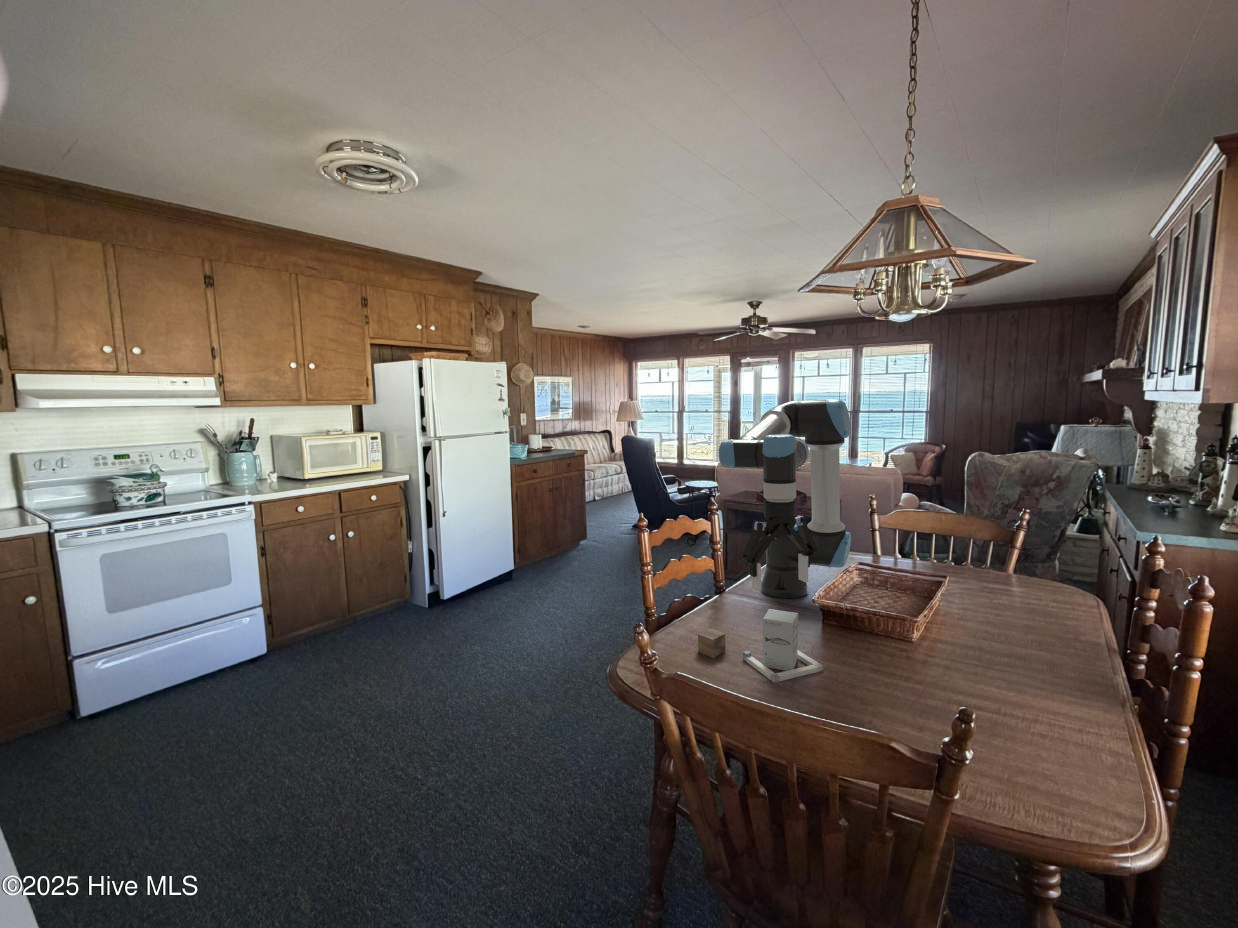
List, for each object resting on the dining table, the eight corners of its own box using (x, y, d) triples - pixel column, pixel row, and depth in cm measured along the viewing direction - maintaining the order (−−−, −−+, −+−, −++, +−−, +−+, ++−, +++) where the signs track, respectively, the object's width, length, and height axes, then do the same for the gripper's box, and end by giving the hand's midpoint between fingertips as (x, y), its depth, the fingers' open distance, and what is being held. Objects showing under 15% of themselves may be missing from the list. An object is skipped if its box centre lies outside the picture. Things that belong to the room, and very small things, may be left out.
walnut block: (710, 646, 148) (710, 628, 148) (725, 651, 145) (725, 633, 144) (698, 651, 145) (697, 633, 145) (713, 658, 141) (712, 639, 141)
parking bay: (788, 648, 145) (788, 641, 144) (823, 670, 133) (823, 662, 132) (742, 659, 140) (742, 651, 140) (774, 682, 128) (773, 674, 128)
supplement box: (762, 667, 135) (761, 618, 134) (768, 654, 142) (768, 607, 140) (793, 673, 132) (792, 622, 130) (798, 660, 138) (798, 611, 137)
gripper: (811, 492, 140) (811, 573, 142) (726, 501, 131) (727, 587, 134) (832, 496, 133) (832, 581, 135) (743, 507, 124) (744, 597, 127)
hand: (780, 584), depth 135 cm, fingers open, 13 cm apart
